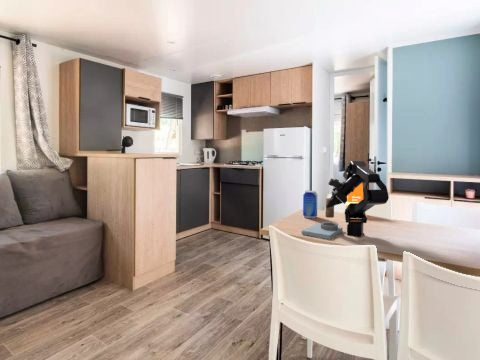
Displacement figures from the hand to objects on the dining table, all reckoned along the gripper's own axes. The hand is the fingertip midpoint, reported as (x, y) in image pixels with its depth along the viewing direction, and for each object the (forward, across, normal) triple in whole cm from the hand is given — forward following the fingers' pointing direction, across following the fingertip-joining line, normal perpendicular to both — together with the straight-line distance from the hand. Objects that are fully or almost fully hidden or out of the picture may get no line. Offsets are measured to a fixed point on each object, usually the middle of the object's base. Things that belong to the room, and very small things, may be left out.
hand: (326, 206), depth 150 cm
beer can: (+15, -32, +4) cm, 35 cm away
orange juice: (-4, -45, +23) cm, 50 cm away
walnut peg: (+3, 0, +5) cm, 5 cm away
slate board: (+10, +2, +8) cm, 13 cm away
